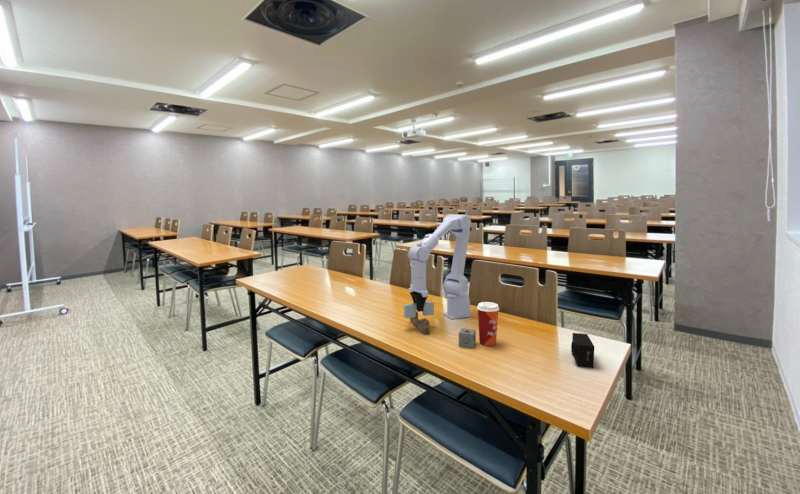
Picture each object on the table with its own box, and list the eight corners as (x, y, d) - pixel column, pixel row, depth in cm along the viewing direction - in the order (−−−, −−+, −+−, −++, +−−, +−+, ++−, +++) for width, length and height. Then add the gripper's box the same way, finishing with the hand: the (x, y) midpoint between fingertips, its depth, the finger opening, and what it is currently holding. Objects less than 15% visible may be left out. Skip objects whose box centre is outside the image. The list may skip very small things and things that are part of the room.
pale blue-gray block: (432, 313, 147) (431, 301, 146) (433, 314, 145) (433, 302, 145) (403, 316, 143) (403, 304, 143) (405, 318, 142) (405, 305, 141)
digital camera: (567, 352, 120) (568, 332, 119) (585, 354, 118) (586, 333, 117) (573, 366, 110) (574, 344, 109) (593, 368, 108) (594, 346, 107)
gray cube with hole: (458, 346, 126) (458, 332, 125) (461, 341, 131) (461, 328, 130) (473, 348, 124) (473, 334, 124) (475, 343, 129) (475, 329, 128)
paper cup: (495, 349, 123) (495, 309, 121) (473, 344, 127) (473, 305, 125) (501, 341, 130) (502, 303, 128) (481, 337, 134) (481, 300, 132)
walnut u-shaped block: (410, 321, 152) (410, 310, 152) (414, 321, 153) (414, 309, 152) (424, 334, 137) (424, 322, 137) (429, 334, 138) (429, 321, 137)
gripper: (403, 274, 148) (403, 306, 150) (415, 281, 134) (416, 317, 136) (419, 272, 150) (419, 304, 152) (433, 279, 136) (433, 314, 138)
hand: (419, 310), depth 144 cm, fingers closed on pale blue-gray block, 2 cm apart
